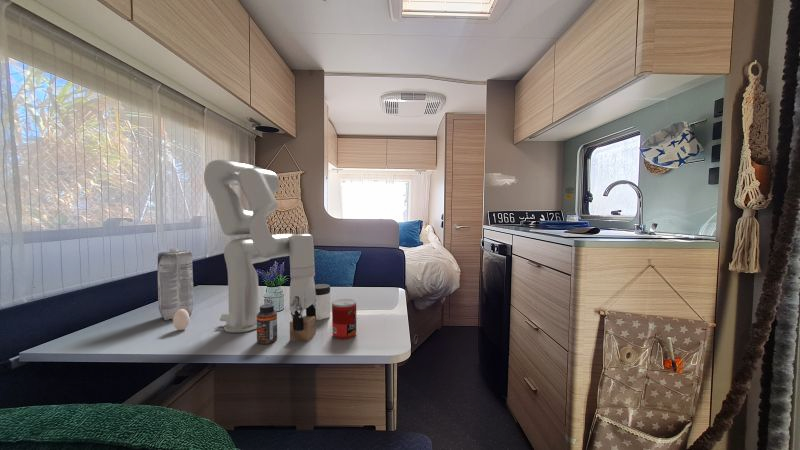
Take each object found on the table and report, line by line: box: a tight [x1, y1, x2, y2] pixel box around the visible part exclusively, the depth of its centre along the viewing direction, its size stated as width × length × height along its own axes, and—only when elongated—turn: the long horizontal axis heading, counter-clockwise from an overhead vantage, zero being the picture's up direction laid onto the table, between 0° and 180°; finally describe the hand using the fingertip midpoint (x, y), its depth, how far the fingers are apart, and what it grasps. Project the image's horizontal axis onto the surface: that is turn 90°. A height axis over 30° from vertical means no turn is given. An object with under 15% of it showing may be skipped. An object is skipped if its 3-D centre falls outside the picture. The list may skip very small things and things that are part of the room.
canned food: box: [331, 298, 357, 340], centre depth 99 cm, size 8×8×11 cm
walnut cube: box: [289, 315, 316, 342], centre depth 98 cm, size 6×6×6 cm
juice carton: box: [156, 247, 194, 321], centre depth 119 cm, size 9×10×27 cm
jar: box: [314, 283, 331, 321], centre depth 118 cm, size 9×8×12 cm
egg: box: [172, 309, 191, 331], centre depth 104 cm, size 5×5×7 cm
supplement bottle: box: [256, 303, 278, 345], centre depth 95 cm, size 6×6×11 cm
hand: (305, 324), depth 97 cm, fingers open, 9 cm apart
